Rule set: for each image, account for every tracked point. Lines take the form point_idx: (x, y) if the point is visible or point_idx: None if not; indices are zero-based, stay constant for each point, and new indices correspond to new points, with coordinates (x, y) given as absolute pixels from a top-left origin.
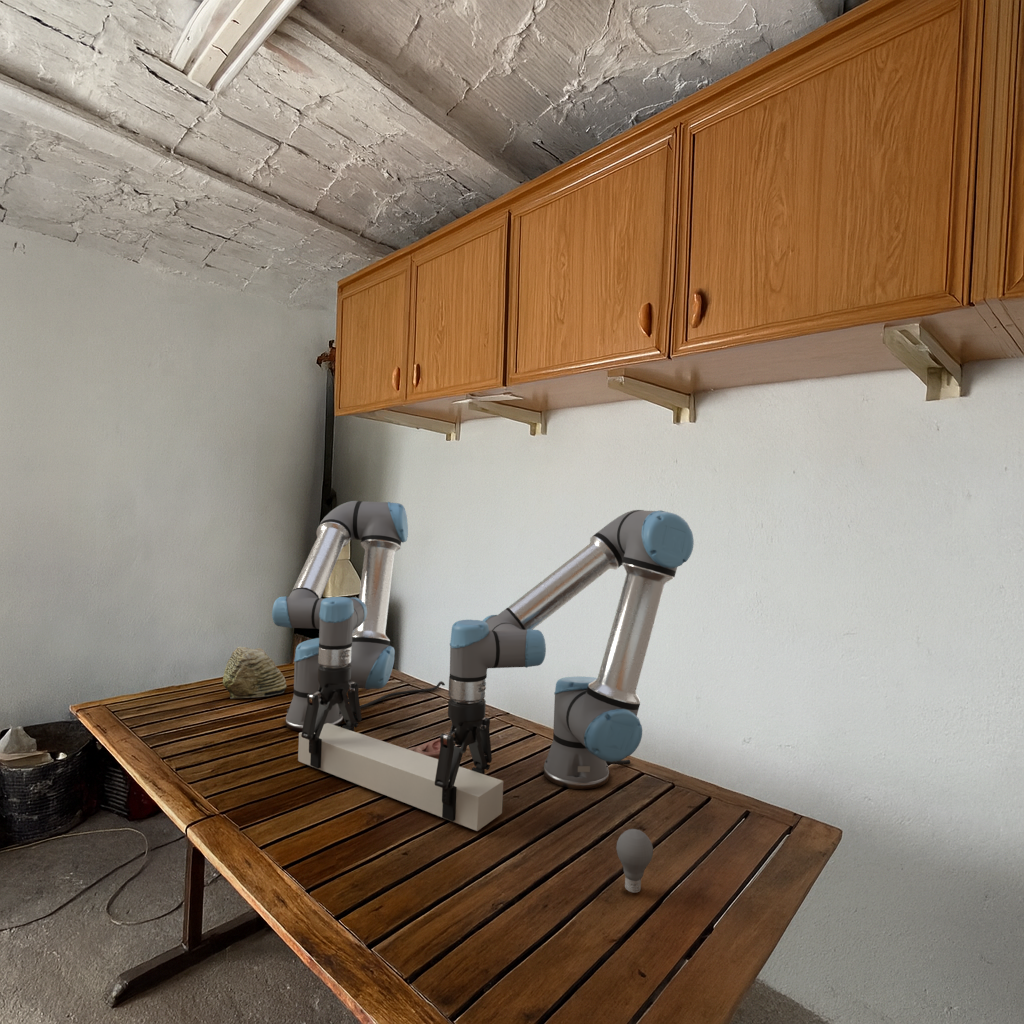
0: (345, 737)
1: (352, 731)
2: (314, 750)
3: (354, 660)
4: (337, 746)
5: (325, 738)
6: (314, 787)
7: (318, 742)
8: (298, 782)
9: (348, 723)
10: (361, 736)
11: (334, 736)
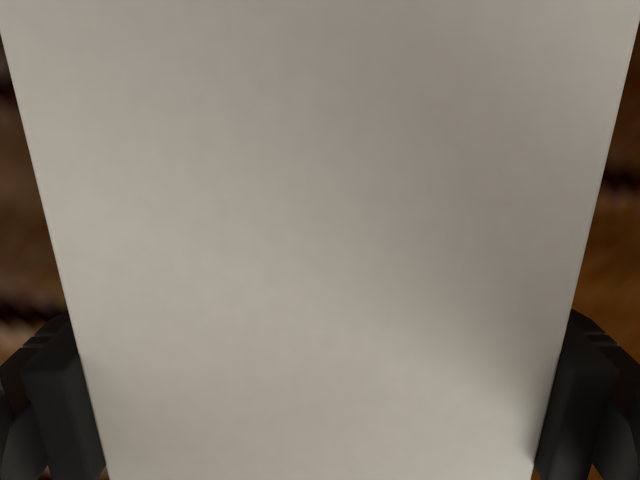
0: (289, 220)
1: (78, 307)
2: (578, 327)
3: None
4: (628, 44)
5: (467, 381)
6: (626, 93)
7: (597, 359)
8: (608, 234)
9: (19, 466)
10: (86, 55)
11: (354, 351)
